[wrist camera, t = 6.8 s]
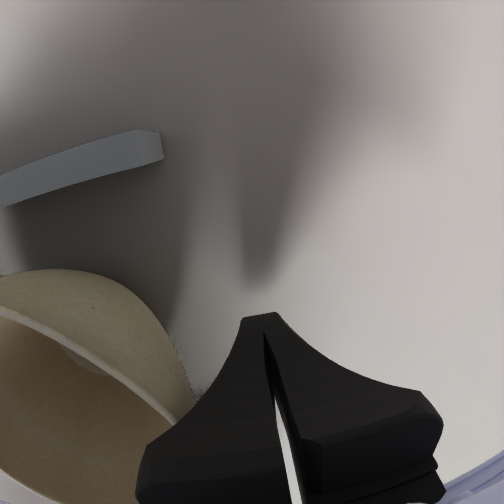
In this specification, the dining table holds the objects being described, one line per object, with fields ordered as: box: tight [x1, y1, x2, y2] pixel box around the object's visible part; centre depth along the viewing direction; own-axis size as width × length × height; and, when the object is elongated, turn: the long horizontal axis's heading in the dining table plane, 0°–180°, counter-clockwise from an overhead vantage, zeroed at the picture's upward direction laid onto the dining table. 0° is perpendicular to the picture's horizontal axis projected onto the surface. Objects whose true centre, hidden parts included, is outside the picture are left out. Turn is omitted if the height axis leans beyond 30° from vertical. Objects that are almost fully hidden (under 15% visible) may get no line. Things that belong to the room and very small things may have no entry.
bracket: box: [0, 129, 164, 209], centre depth 12 cm, size 15×11×4 cm
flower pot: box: [0, 269, 196, 504], centre depth 10 cm, size 10×10×7 cm
